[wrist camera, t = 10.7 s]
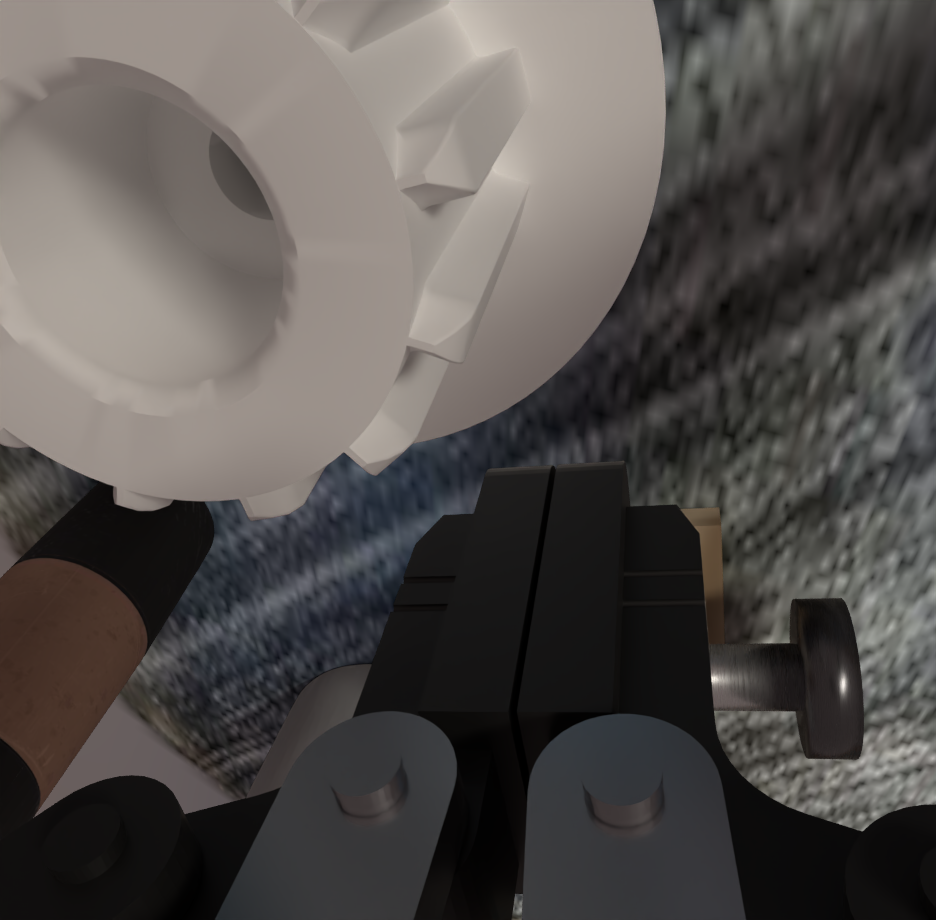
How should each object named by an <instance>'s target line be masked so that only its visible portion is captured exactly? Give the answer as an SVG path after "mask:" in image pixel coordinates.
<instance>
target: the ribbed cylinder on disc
mask: <svg viewBox="0 0 936 920" xmlns="http://www.w3.org/2000/svg"><path fill="white" fill-rule="evenodd" d="M665 118H666V105H665V77H664V66H663V56H662V46H661V39H660V33H659V28H658V22H657V16H656V11H655V6H654V3H653V0H0V444H1V445H3V446H9V447H14V448H24V447H32V448H34V449H35V450H37V451H39V452H40V453H42V454H44V455H46V456H47V457H49V458H51V459H52V460H54V461H56V462H58V463H60V464H62V465H64V466H66V467H68V468H70V469H72V470H74V471H76V472H79V473H81V474H83V475H85V476H88V477H90V478H93V479H95V480H98V481H101V482H103V483H106V484H109V485H112V486H114V488H113V498H114V503H115V504H116V505H120V506H123V507H126V508H130V509H133V510H136V511H155V510H157V509H160V508H163V507H166V506H169V505H170V504H171V503H172V501H173V500H174V499H175V500H185V501H223V500H234V499H239V500H240V501H241V503H242V505H243V507H244V509H245V512H246V514H247V516H248V518H249V519H250V520H251V521H254V520H261V519H267V518H274V517H279V516H284V515H288V514H290V513H292V512H293V511H295V510H296V509H298V508H299V507H301V506H303V505H304V503H305V502H306V500H307V498H308V496H309V495H310V493H311V491H312V490H313V488H314V486H315V484H316V483H317V481H318V479H319V477H320V476H321V474H322V472H323V470H324V469H325V467H326V465H328V464H329V463H331V462H332V461H333V460H335V459H336V458H337V457H338V456H340V455H341V454H342V453H343V452H344V453H346V454H347V455H348V456H349V457H350V458H351V459H353V460H354V461H355V462H356V463H357V464H358V465H360V466H361V467H362V468H363V469H364V470H365V471H366V472H367V473H369V474H371V475H374V476H375V475H378V474H379V473H380V472H381V471H382V470H384V469H385V468H386V467H387V466H388V465H389V464H391V463H392V462H393V461H394V460H395V459H396V458H398V457H399V456H400V455H401V454H402V453H403V452H404V451H405V450H406V449H407V448H408V447H409V446H410V445H411V444H413V443H418V442H424V441H427V440H431V439H435V438H439V437H443V436H446V435H449V434H452V433H455V432H458V431H461V430H464V429H466V428H469V427H471V426H473V425H476V424H478V423H480V422H483V421H485V420H487V419H489V418H491V417H493V416H495V415H497V414H499V413H500V412H502V411H504V410H506V409H508V408H509V407H511V406H513V405H514V404H516V403H517V402H519V401H520V400H522V399H524V398H525V397H527V396H528V395H529V394H531V393H532V392H533V391H535V390H536V389H537V388H539V387H540V386H541V385H543V384H544V383H545V382H546V381H547V380H549V379H550V378H551V377H552V376H553V375H554V374H555V373H556V372H558V371H559V370H560V369H561V368H562V367H563V366H564V365H565V364H566V363H567V362H568V361H569V360H570V359H571V358H572V357H573V356H574V355H575V354H576V353H577V352H578V351H579V350H580V348H581V347H582V346H583V345H584V344H585V342H586V341H587V340H588V339H589V337H590V336H591V335H592V334H593V332H594V331H595V330H596V329H597V327H598V326H599V324H600V323H601V321H602V320H603V318H604V317H605V316H606V314H607V313H608V311H609V310H610V308H611V307H612V305H613V303H614V301H615V300H616V298H617V296H618V294H619V293H620V291H621V289H622V288H623V286H624V284H625V282H626V280H627V278H628V275H629V273H630V271H631V269H632V267H633V265H634V263H635V261H636V258H637V255H638V253H639V250H640V248H641V245H642V242H643V240H644V237H645V234H646V231H647V228H648V224H649V221H650V218H651V214H652V211H653V207H654V203H655V198H656V193H657V189H658V184H659V179H660V173H661V165H662V158H663V150H664V137H665Z"/></svg>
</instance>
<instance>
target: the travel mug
mask: <svg viewBox="0 0 936 920" xmlns="http://www.w3.org/2000/svg"><path fill="white" fill-rule="evenodd" d="M113 488H114V486H112V485H109V484H106V483H103V482H101V481H100V482H99V483H98V484H97V485H96V486H95V487H94V488H93V489H92V490H91V491H90V492H89V493H88V494H87V495H86V496H85V497H84V498H82V499H81V500H80V501H79V502H78V503H77V504H76V505H75V506H74V507H73V508H72V509H71V510H70V511H69V512H68V513H67V514H66V515H65V516H64V517H63V518H62V519H61V520H60V521H59V522H58V523H57V524H56V525H55V526H53V527H52V528H51V529H50V530H49V531H48V532H47V533H46V534H45V535H44V536H43V537H42V538H41V539H40V540H39V541H38V542H37V543H36V544H35V545H34V546H33V547H32V548H31V549H30V550H29V551H28V552H27V553H25V554H24V555H23V556H22V557H21V558H20V559H19V560H18V561H17V562H16V563H15V564H14V565H13V566H12V567H11V568H10V569H9V570H8V571H7V572H6V573H5V574H4V575H3V576H2V577H1V578H0V840H1V839H3V838H4V837H6V836H7V835H9V834H10V833H12V832H13V831H15V830H16V829H18V828H19V827H21V826H22V825H24V824H25V823H27V822H28V821H30V820H31V819H33V817H34V816H35V814H36V813H37V811H38V810H39V809H40V807H41V806H42V804H43V803H44V801H45V800H46V798H47V797H48V796H49V794H50V793H51V791H52V790H53V788H54V787H55V785H56V784H57V783H58V781H59V780H60V778H61V777H62V775H63V774H64V772H65V771H66V769H67V768H68V767H69V765H70V763H71V762H72V761H73V759H74V758H75V756H76V755H77V753H78V752H79V751H80V749H81V747H82V746H83V745H84V743H85V742H86V740H87V739H88V738H89V736H90V735H91V733H92V732H93V730H94V729H95V727H96V726H97V724H98V723H99V722H100V720H101V719H102V717H103V716H104V714H105V713H106V711H107V710H108V708H109V707H110V705H111V704H112V703H113V701H114V700H115V698H116V697H117V695H118V694H119V692H120V691H121V690H122V688H123V687H124V685H125V684H126V682H127V681H128V679H129V678H130V676H131V675H132V674H133V672H134V671H135V669H136V668H137V666H138V665H139V663H140V662H141V660H142V659H143V657H144V656H145V654H146V653H147V651H148V649H149V648H150V646H151V644H152V643H153V641H154V640H155V638H156V636H157V635H158V633H159V632H160V630H161V628H162V627H163V625H164V623H165V622H166V620H167V619H168V617H169V615H170V614H171V612H172V611H173V609H174V607H175V606H176V604H177V603H178V601H179V599H180V598H181V596H182V594H183V593H184V591H185V590H186V588H187V586H188V585H189V583H190V582H191V580H192V578H193V577H194V575H195V573H196V572H197V570H198V569H199V567H200V565H201V564H202V562H203V560H204V559H205V557H206V555H207V553H208V552H209V550H210V548H211V545H212V542H213V537H214V525H213V520H212V517H211V514H210V512H209V510H208V508H207V506H206V504H205V503H204V501H185V500H175V499H174V500H173V501H172V503H171V504H170V505H169V506H166V507H163V508H160V509H157V510H155V511H136V510H133V509H130V508H126V507H123V506H120V505H116V504H115V503H114V498H113Z"/></svg>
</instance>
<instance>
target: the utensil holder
mask: <svg viewBox="0 0 936 920" xmlns="http://www.w3.org/2000/svg"><path fill="white" fill-rule="evenodd" d="M371 665H372V664H361V665H350V666H344V667H340V668H336V669H333V670H330V671H328V672H326V673H323V674H322V675H320V676H318V677H317V678H315V679H314V680H312V681H311V682H310V683H309V684H308V685H307V686H306V687H305V688H304V689H303V690H302V691H301V693H300V694H299V696H298V697H297V699H296V701H295V703H294V704H293V706H292V708H291V710H290V712H289V714H288V716H287V718H286V720H285V722H284V723H283V725H282V727H281V729H280V731H279V733H278V735H277V737H276V739H275V741H274V743H273V745H272V747H271V749H270V751H269V753H268V755H267V757H266V759H265V760H264V762H263V764H262V766H261V768H260V770H259V772H258V774H257V776H256V778H255V780H254V782H253V784H252V786H251V788H250V790H249V793H248V795H247V797H246V798H249V797H253V796H257V795H260V794H263V793H266V792H269V791H272V790H275V789H277V788H279V787H282V785H283V783H284V781H285V779H286V777H287V775H288V773H289V771H290V769H291V767H292V766H293V764H294V762H295V761H296V759H297V758H298V757H299V756H300V754H301V753H302V752H303V751H304V750H305V748H306V747H307V746H309V745H310V744H311V743H312V742H313V741H314V740H315V739H316V738H317V737H319V736H320V735H322V734H323V733H324V732H326V731H327V730H329V729H330V728H332V727H334V726H336V725H338V724H340V723H341V722H344V721H346V720H349V719H351V718H352V717H353V714H354V712H355V709H356V706H357V703H358V701H359V698H360V695H361V692H362V690H363V687H364V684H365V681H366V679H367V676H368V673H369V670H370V668H371Z"/></svg>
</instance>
